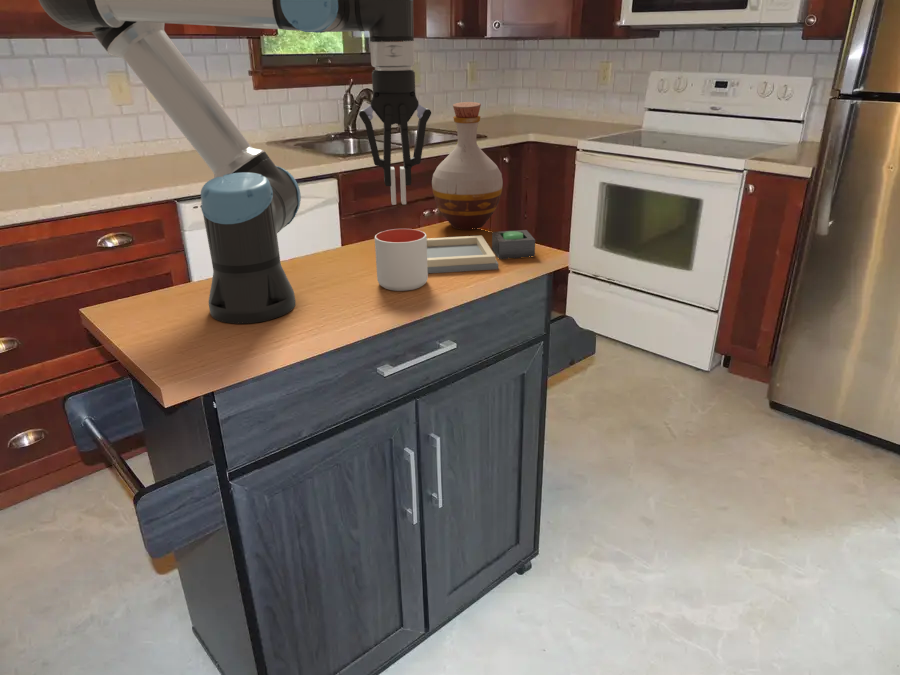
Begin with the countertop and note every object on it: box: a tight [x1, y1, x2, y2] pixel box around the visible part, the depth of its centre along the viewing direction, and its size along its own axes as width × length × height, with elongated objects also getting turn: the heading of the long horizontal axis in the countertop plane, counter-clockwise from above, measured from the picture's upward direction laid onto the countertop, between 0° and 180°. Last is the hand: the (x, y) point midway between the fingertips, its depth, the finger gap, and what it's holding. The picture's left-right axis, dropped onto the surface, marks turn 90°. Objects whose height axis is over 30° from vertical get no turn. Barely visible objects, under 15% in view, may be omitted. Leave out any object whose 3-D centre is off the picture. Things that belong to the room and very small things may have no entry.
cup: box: [374, 228, 429, 292], centre depth 130 cm, size 10×10×10 cm
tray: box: [427, 235, 499, 274], centre depth 146 cm, size 17×17×3 cm
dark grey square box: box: [491, 229, 536, 260], centre depth 149 cm, size 8×8×4 cm
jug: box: [431, 101, 504, 230], centre depth 166 cm, size 20×18×30 cm
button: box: [503, 230, 523, 240], centre depth 148 cm, size 4×4×3 cm
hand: (398, 202), depth 126 cm, fingers closed
